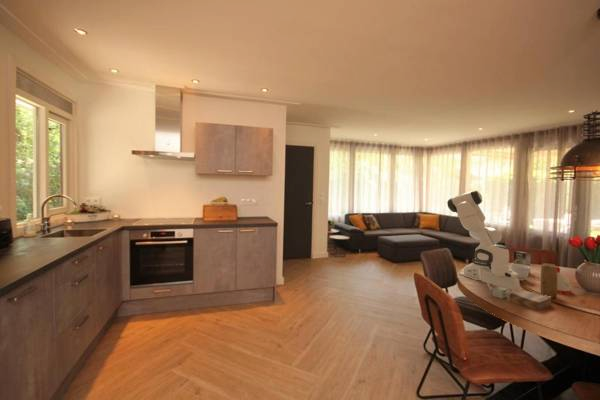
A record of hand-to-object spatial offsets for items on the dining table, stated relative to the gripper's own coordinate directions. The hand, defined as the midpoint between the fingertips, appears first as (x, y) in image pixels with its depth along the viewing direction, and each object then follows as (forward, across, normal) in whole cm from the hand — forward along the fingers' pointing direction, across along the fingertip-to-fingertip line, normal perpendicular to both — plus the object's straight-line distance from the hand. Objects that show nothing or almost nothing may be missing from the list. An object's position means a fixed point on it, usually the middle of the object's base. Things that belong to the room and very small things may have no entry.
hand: (499, 292), depth 170 cm
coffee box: (+2, -18, +72) cm, 74 cm away
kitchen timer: (+2, +12, +46) cm, 48 cm away
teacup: (+2, -11, +50) cm, 51 cm away
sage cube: (+2, 0, 0) cm, 2 cm away
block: (+2, +14, +28) cm, 32 cm away
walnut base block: (+3, +14, +4) cm, 15 cm away
